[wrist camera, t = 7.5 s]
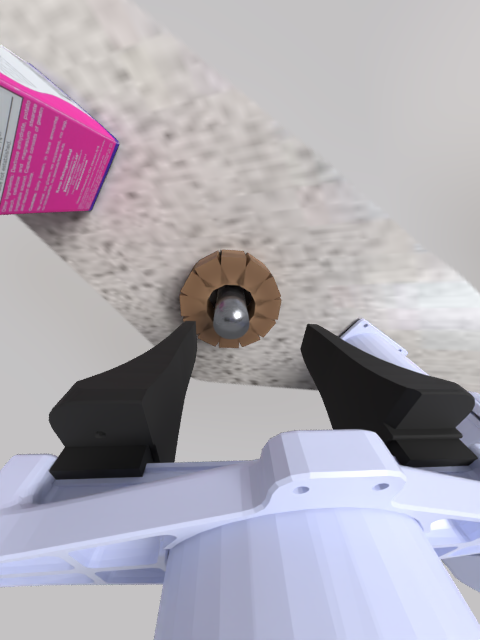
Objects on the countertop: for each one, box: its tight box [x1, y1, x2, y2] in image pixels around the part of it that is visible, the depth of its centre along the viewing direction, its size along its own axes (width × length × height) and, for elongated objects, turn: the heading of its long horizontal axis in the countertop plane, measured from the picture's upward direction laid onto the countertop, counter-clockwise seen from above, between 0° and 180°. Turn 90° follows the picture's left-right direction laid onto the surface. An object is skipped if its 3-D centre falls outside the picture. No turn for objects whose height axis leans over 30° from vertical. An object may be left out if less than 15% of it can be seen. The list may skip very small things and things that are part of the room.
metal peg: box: [213, 285, 250, 339], centre depth 18 cm, size 3×3×6 cm
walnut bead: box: [180, 250, 281, 348], centre depth 19 cm, size 9×9×3 cm
